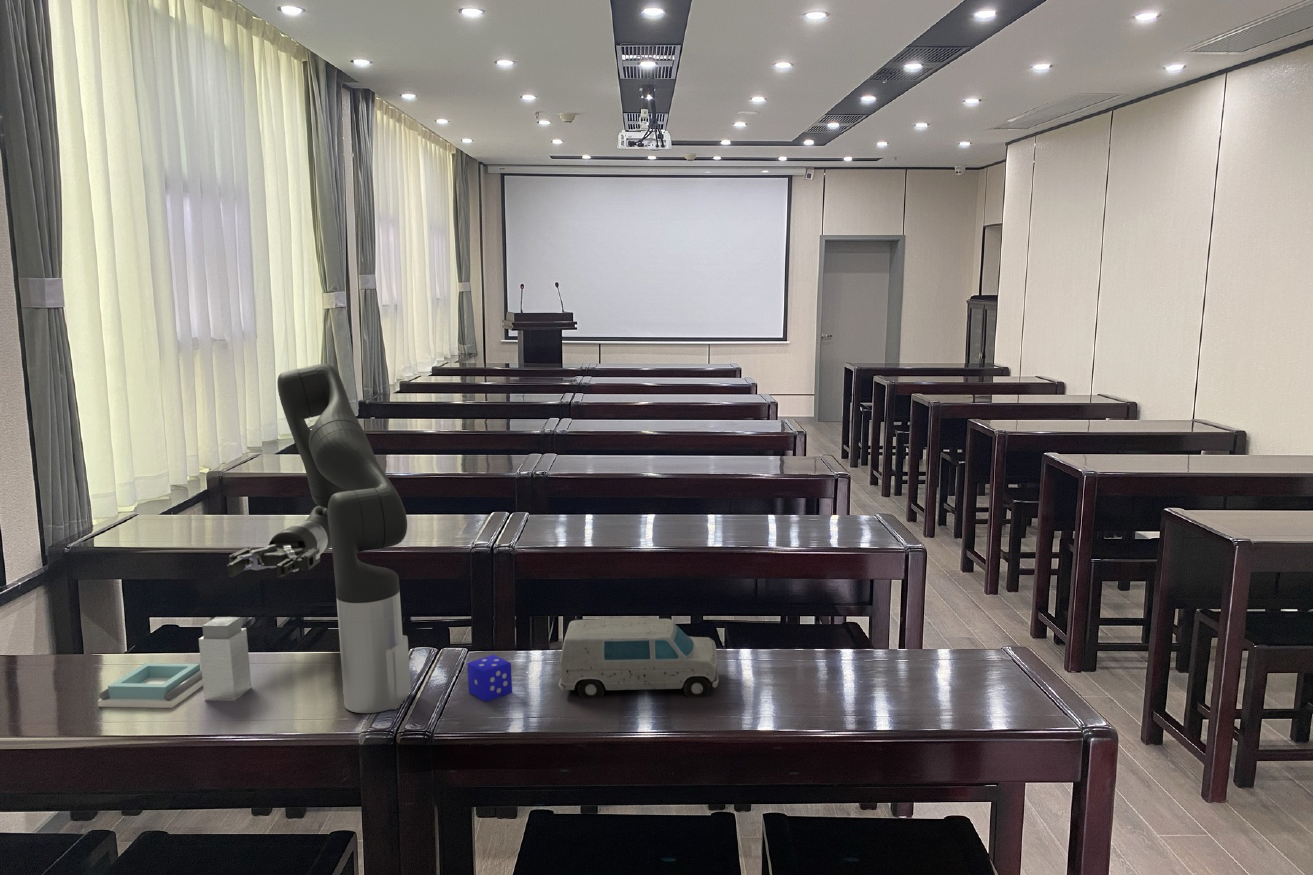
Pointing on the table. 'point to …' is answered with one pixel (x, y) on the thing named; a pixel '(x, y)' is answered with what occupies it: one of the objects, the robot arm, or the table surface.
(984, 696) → the table surface
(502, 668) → the die
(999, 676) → the table surface
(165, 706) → the tray
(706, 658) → the toy car
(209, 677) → the stepped metal tower
